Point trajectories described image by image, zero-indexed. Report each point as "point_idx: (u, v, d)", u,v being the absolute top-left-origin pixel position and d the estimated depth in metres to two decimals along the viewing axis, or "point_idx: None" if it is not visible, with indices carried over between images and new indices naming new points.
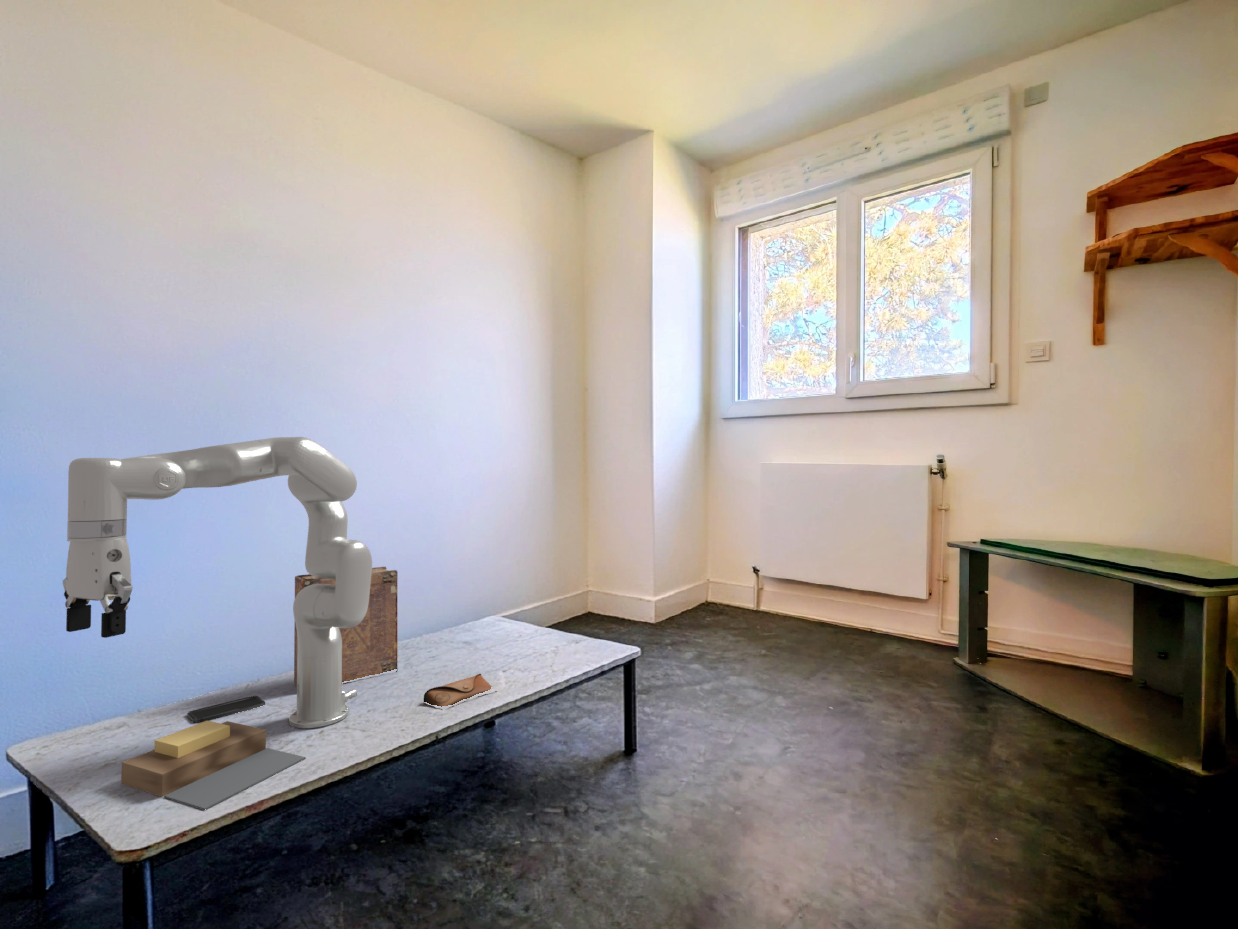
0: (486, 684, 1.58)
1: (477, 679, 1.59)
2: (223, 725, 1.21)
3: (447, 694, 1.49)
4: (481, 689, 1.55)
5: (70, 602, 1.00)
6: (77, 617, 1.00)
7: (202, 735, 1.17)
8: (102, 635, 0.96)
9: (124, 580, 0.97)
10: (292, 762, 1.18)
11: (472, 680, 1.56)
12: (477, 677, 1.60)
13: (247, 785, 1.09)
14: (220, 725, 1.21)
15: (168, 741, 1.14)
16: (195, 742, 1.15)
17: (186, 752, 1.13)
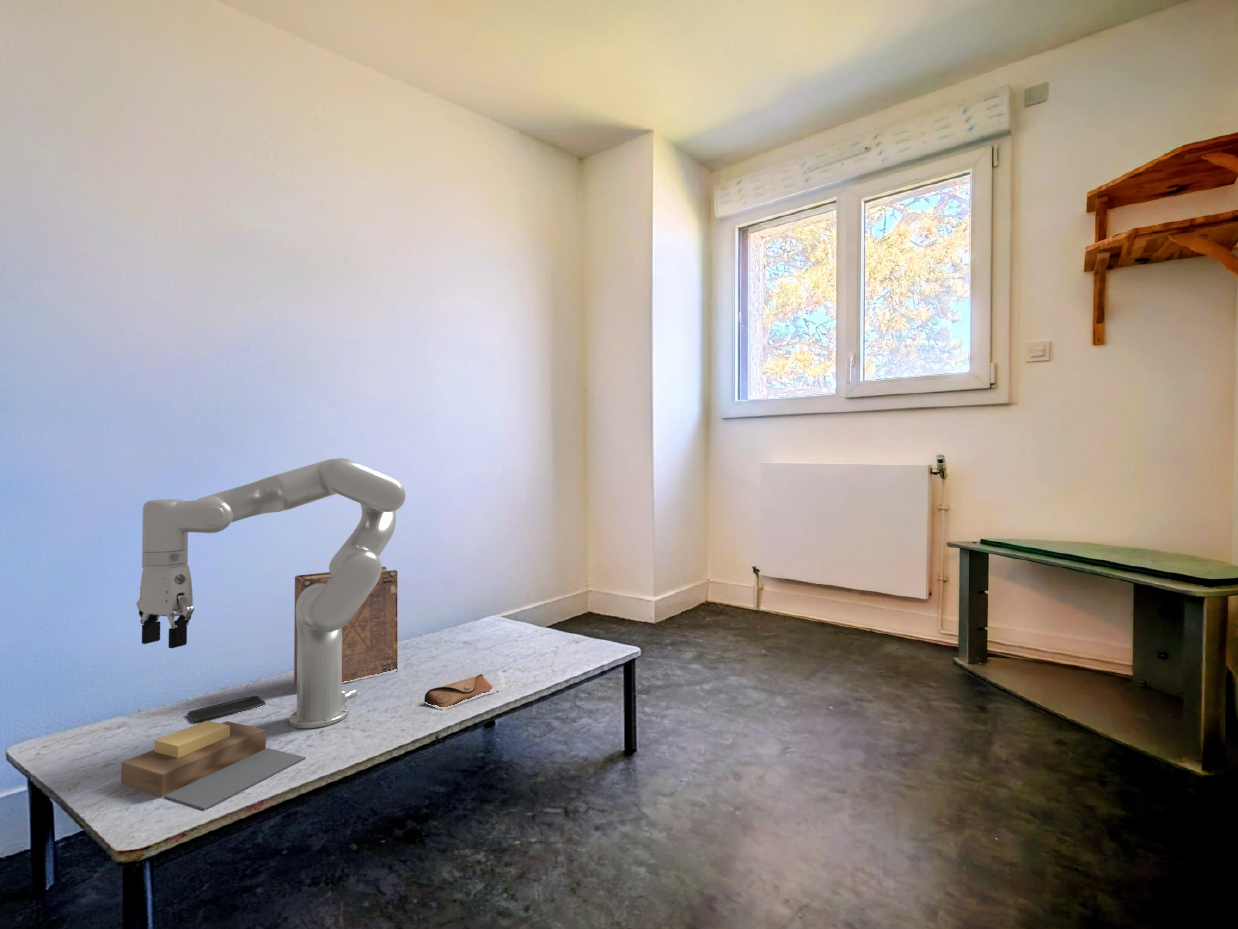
0: (487, 685, 1.57)
1: (478, 680, 1.58)
2: (223, 725, 1.21)
3: (448, 695, 1.49)
4: (482, 690, 1.54)
5: (144, 619, 1.22)
6: (150, 632, 1.23)
7: (202, 735, 1.17)
8: (169, 646, 1.19)
9: (188, 602, 1.20)
10: (292, 762, 1.18)
11: (473, 680, 1.56)
12: (478, 678, 1.59)
13: (247, 785, 1.09)
14: (220, 725, 1.21)
15: (168, 741, 1.14)
16: (195, 742, 1.15)
17: (186, 752, 1.13)
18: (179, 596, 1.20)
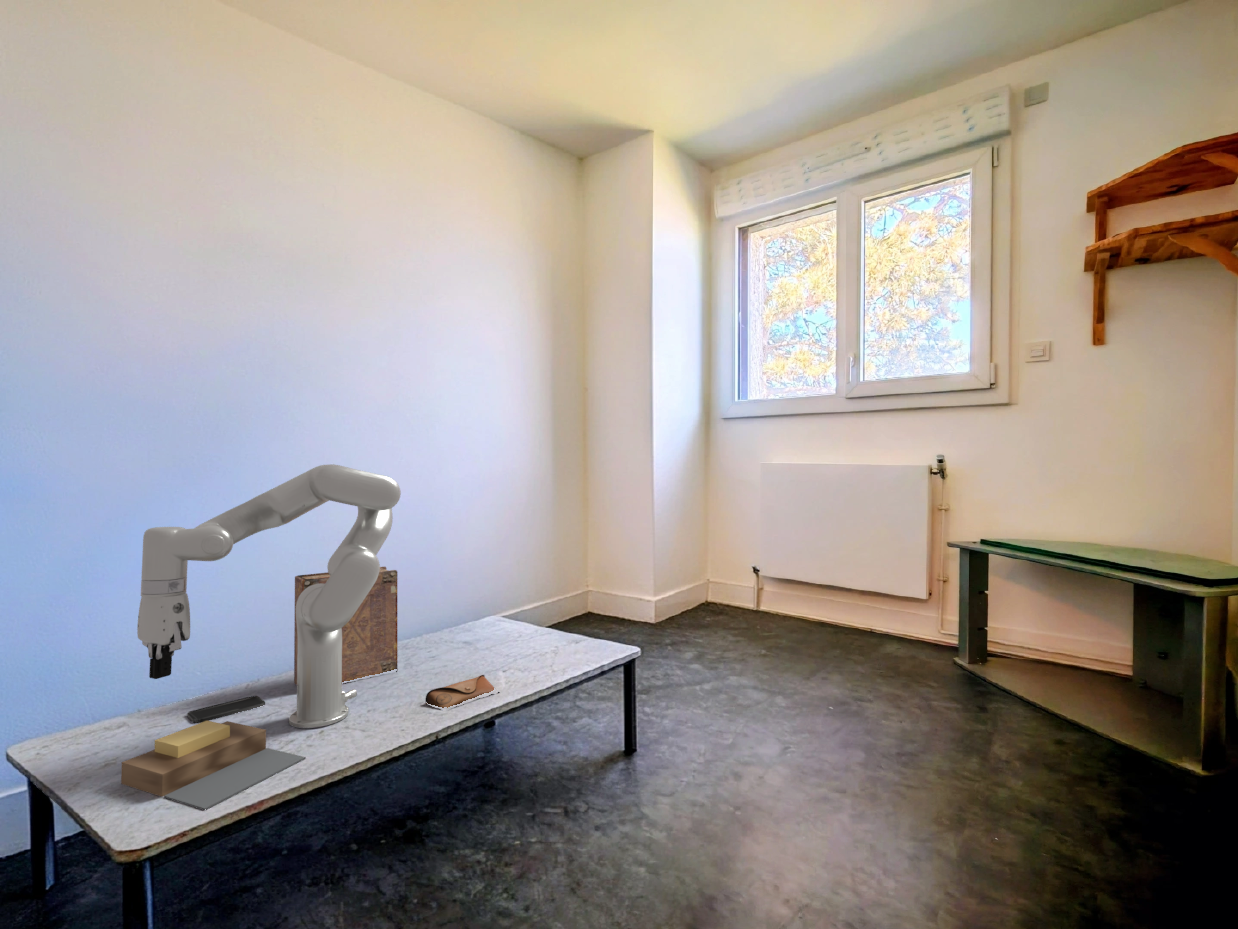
0: (489, 685, 1.57)
1: (480, 680, 1.58)
2: (223, 725, 1.21)
3: (449, 695, 1.49)
4: (483, 690, 1.54)
5: (151, 650, 1.20)
6: None
7: (202, 735, 1.17)
8: (153, 677, 1.20)
9: (179, 639, 1.20)
10: (292, 762, 1.18)
11: (475, 681, 1.56)
12: (480, 678, 1.59)
13: (247, 785, 1.09)
14: (220, 725, 1.21)
15: (168, 741, 1.14)
16: (195, 742, 1.15)
17: (186, 752, 1.13)
18: (174, 629, 1.20)
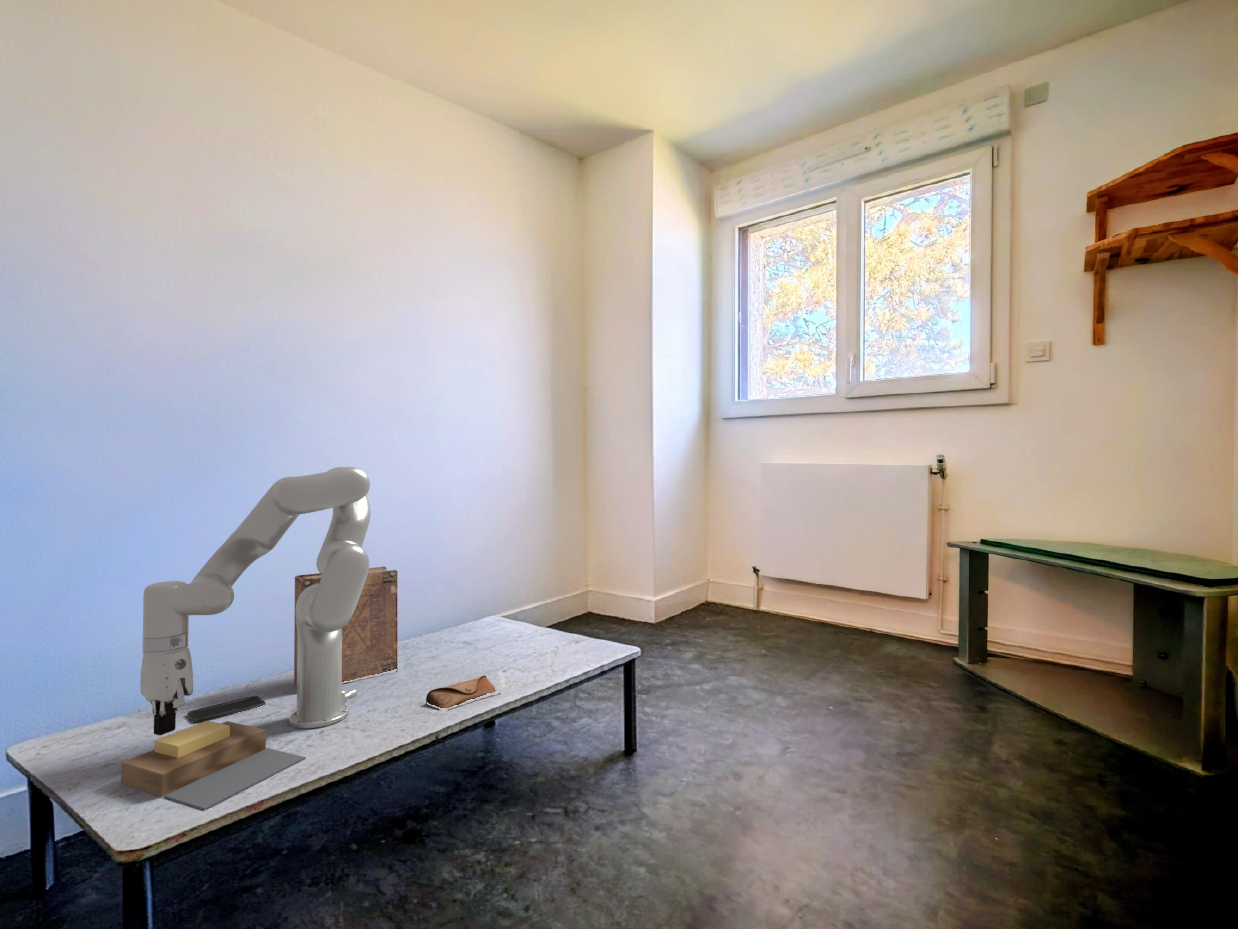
0: (490, 686, 1.56)
1: (481, 681, 1.57)
2: (223, 725, 1.21)
3: (449, 696, 1.48)
4: (484, 691, 1.53)
5: (155, 707, 1.20)
6: None
7: (202, 735, 1.17)
8: (158, 733, 1.19)
9: (182, 695, 1.20)
10: (292, 762, 1.18)
11: (476, 681, 1.55)
12: (481, 679, 1.58)
13: (247, 785, 1.09)
14: (220, 725, 1.21)
15: (168, 741, 1.14)
16: (195, 742, 1.15)
17: (186, 752, 1.13)
18: (177, 686, 1.19)
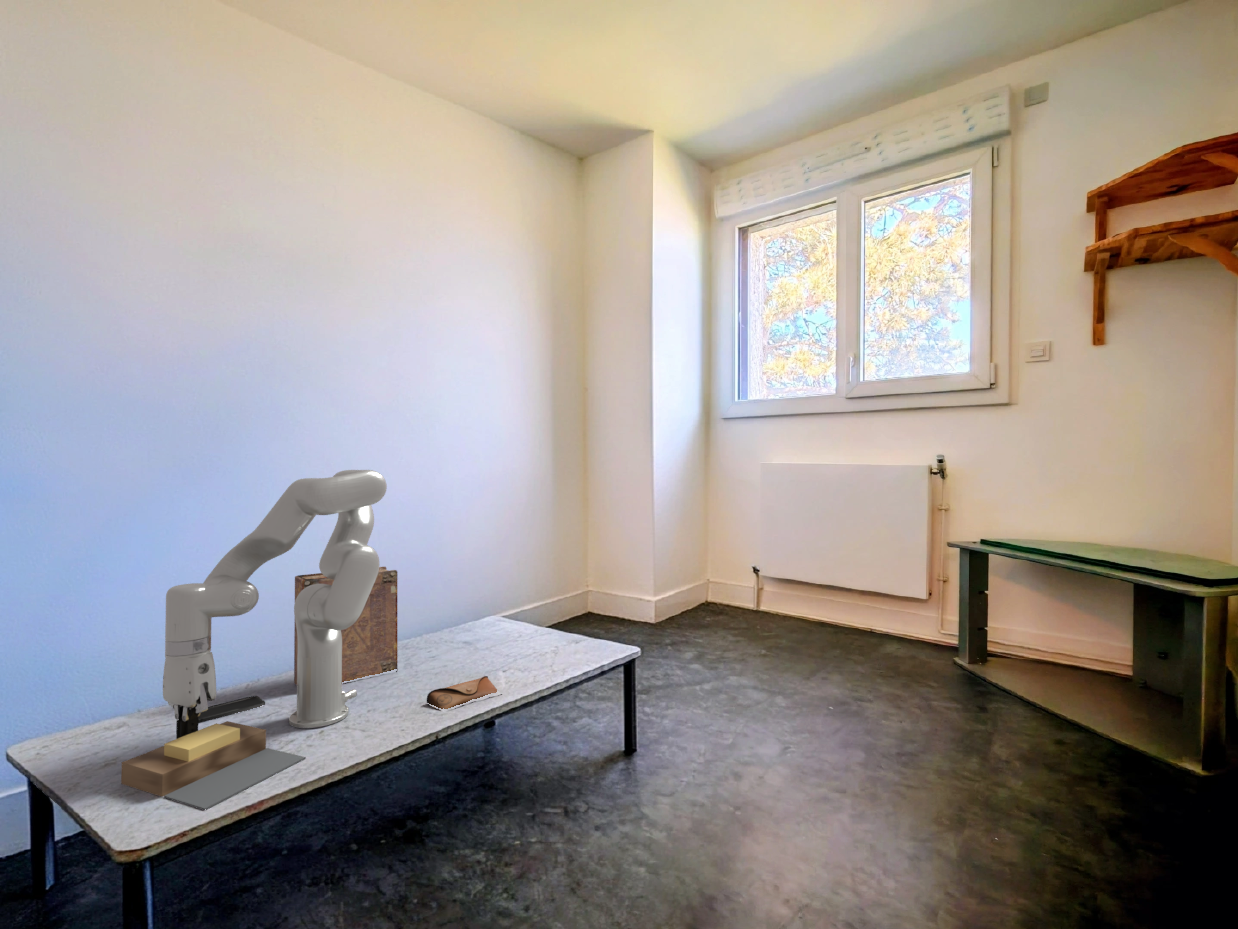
0: (491, 687, 1.56)
1: (482, 681, 1.57)
2: (233, 728, 1.20)
3: (449, 696, 1.48)
4: (485, 692, 1.53)
5: (177, 712, 1.18)
6: None
7: (212, 738, 1.15)
8: None
9: (205, 700, 1.17)
10: (292, 762, 1.18)
11: (477, 682, 1.55)
12: (483, 679, 1.58)
13: (247, 785, 1.09)
14: (230, 728, 1.20)
15: (178, 745, 1.12)
16: (206, 745, 1.13)
17: (197, 756, 1.12)
18: (200, 691, 1.17)
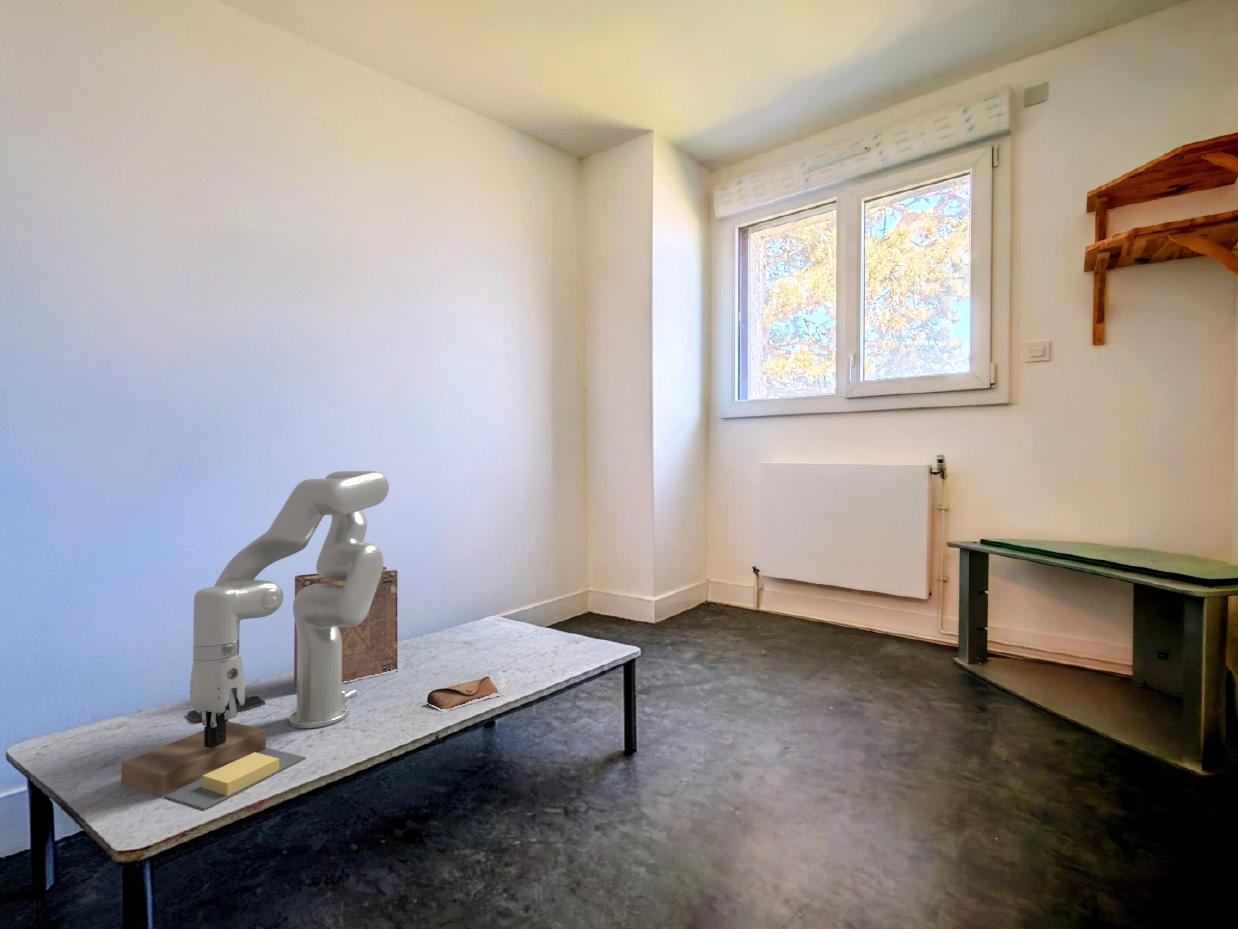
0: (492, 688, 1.55)
1: (484, 682, 1.56)
2: None
3: (450, 697, 1.48)
4: (485, 693, 1.52)
5: (205, 718, 1.15)
6: None
7: None
8: (208, 746, 1.14)
9: (234, 706, 1.14)
10: (292, 762, 1.18)
11: (478, 683, 1.54)
12: (484, 680, 1.57)
13: None
14: None
15: None
16: None
17: None
18: (229, 696, 1.14)
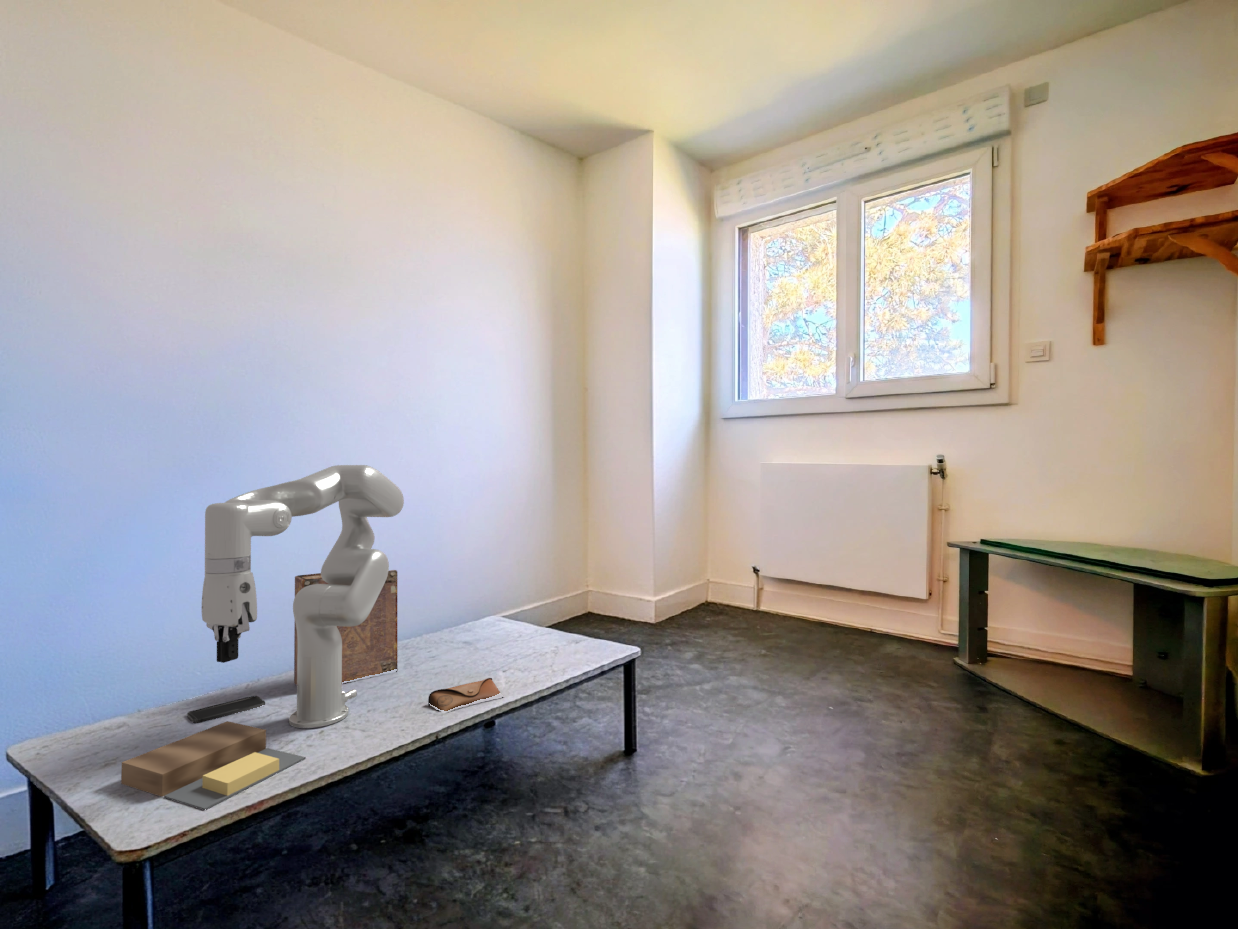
0: (494, 689, 1.54)
1: (486, 683, 1.55)
2: None
3: (450, 697, 1.47)
4: (487, 694, 1.51)
5: (217, 633, 1.14)
6: None
7: None
8: (221, 660, 1.13)
9: (246, 620, 1.13)
10: (292, 762, 1.18)
11: (480, 684, 1.53)
12: (486, 681, 1.56)
13: None
14: None
15: None
16: None
17: None
18: (242, 610, 1.13)
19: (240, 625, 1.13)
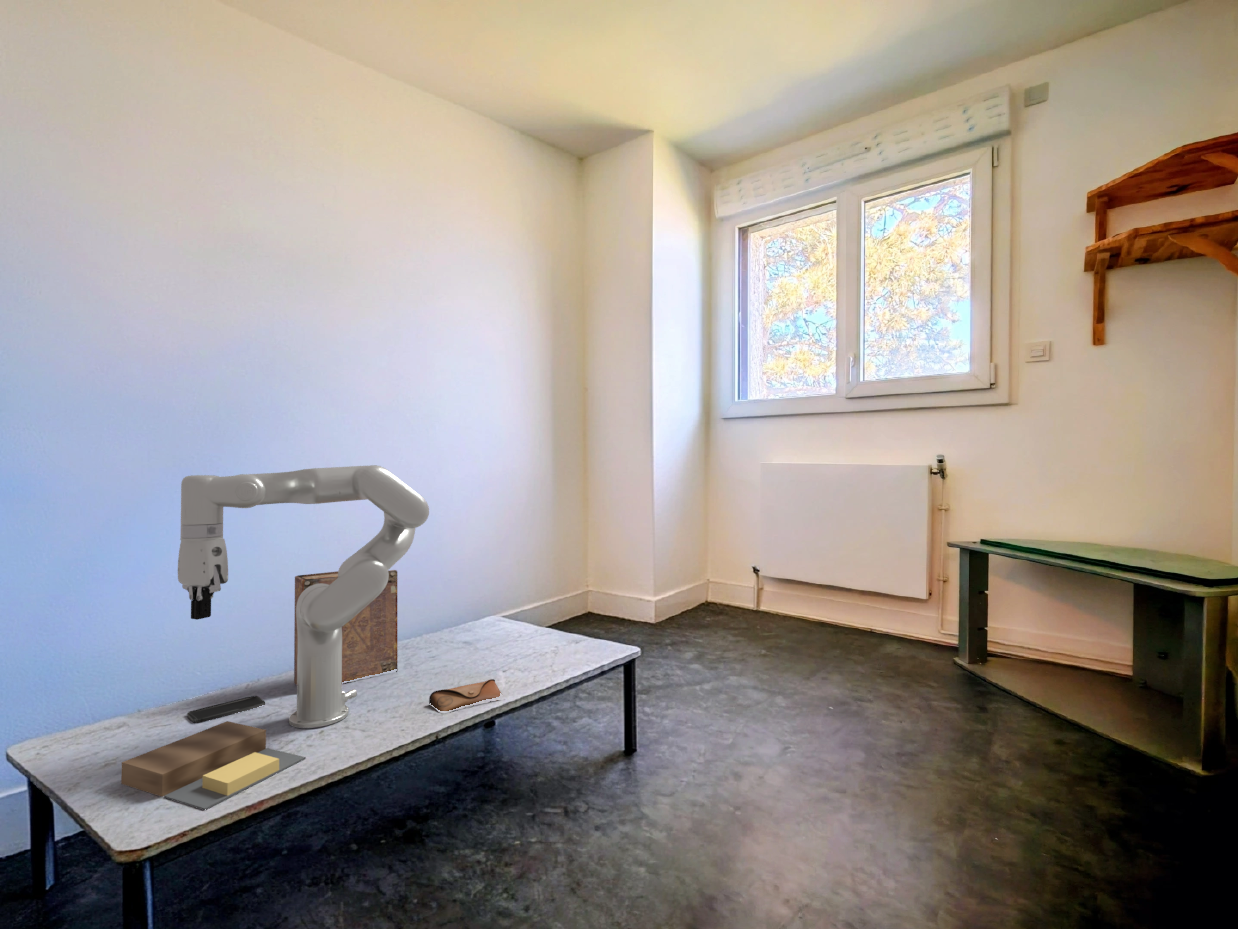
0: (495, 691, 1.53)
1: (488, 685, 1.55)
2: None
3: (450, 698, 1.47)
4: (487, 696, 1.50)
5: (192, 593, 1.26)
6: None
7: None
8: (195, 617, 1.25)
9: (218, 581, 1.25)
10: (292, 762, 1.18)
11: (481, 685, 1.52)
12: (488, 682, 1.55)
13: None
14: None
15: None
16: None
17: None
18: (214, 572, 1.25)
19: (212, 585, 1.25)
